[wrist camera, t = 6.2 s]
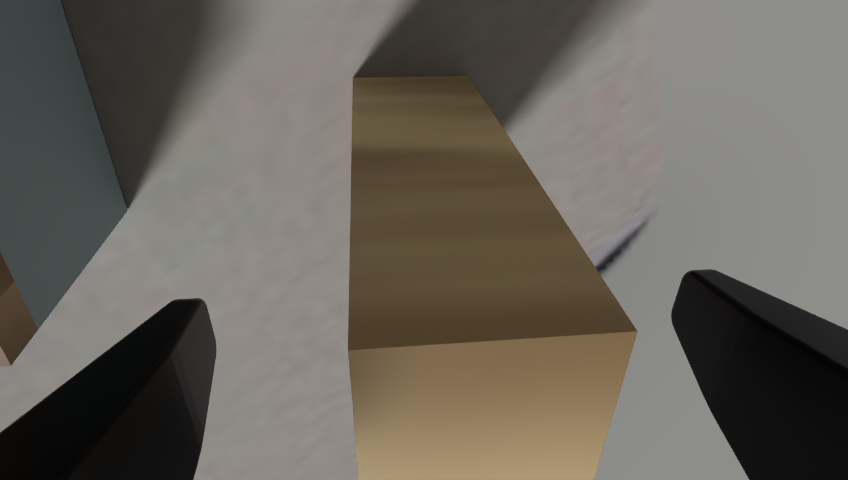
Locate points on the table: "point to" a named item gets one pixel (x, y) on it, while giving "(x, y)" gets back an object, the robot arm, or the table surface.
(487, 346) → the key
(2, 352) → the lid
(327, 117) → the table surface
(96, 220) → the tray
